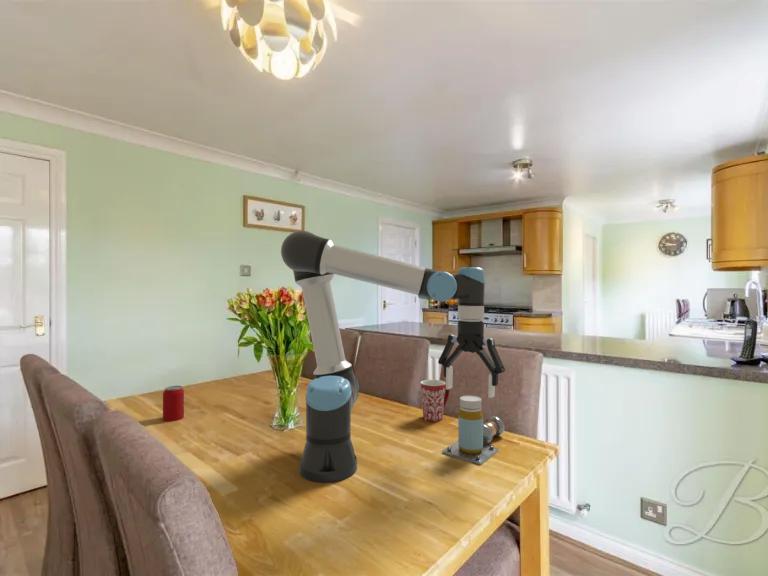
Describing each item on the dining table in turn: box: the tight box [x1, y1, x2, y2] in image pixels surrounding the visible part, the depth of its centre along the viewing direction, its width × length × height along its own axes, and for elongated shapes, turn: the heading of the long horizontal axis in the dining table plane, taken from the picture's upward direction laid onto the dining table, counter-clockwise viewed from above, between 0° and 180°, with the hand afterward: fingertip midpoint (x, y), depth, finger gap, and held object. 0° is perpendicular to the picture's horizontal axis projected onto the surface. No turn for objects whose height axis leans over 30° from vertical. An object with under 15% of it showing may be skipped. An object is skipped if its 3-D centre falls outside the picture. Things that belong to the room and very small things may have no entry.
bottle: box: [457, 395, 484, 454], centre depth 116 cm, size 7×7×15 cm
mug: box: [420, 379, 450, 422], centre depth 147 cm, size 13×9×14 cm
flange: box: [441, 415, 506, 466], centre depth 121 cm, size 24×12×6 cm, turn 141°
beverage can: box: [162, 385, 185, 423], centre depth 143 cm, size 7×7×12 cm
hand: (469, 392), depth 116 cm, fingers open, 13 cm apart
